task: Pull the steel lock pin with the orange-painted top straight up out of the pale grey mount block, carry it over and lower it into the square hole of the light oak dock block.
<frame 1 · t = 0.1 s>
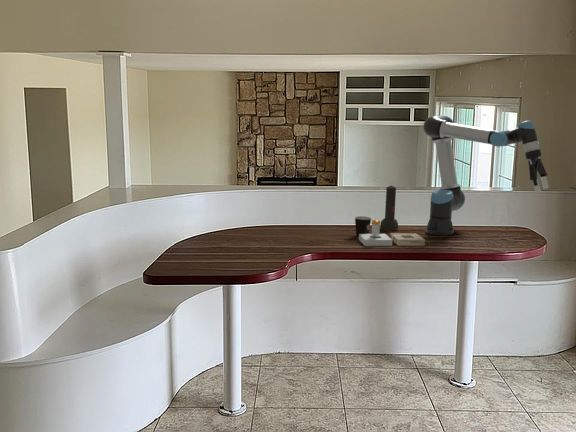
hand: (542, 190, 329), 28 cm above the table, tool tilted 20°, fingers open, 13 cm apart
dock block: (407, 242, 330), on the table
mount block: (375, 242, 328), on the table
coffee mug: (364, 236, 342), on the table
lock pin: (375, 231, 327), in the mount block
flashlight: (389, 229, 360), on the table
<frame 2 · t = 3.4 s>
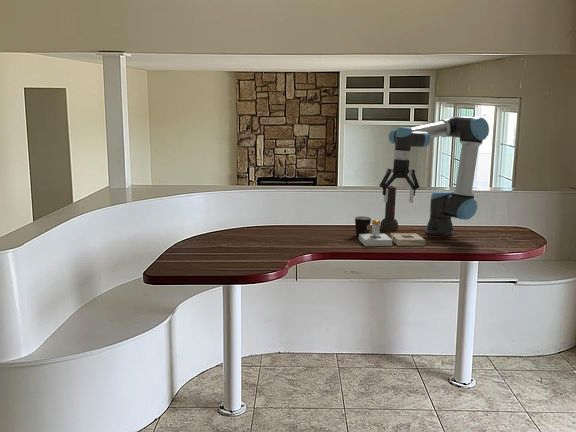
hand: (398, 202, 313), 23 cm above the table, tool pointing down, fingers open, 13 cm apart
nothing on the table moved.
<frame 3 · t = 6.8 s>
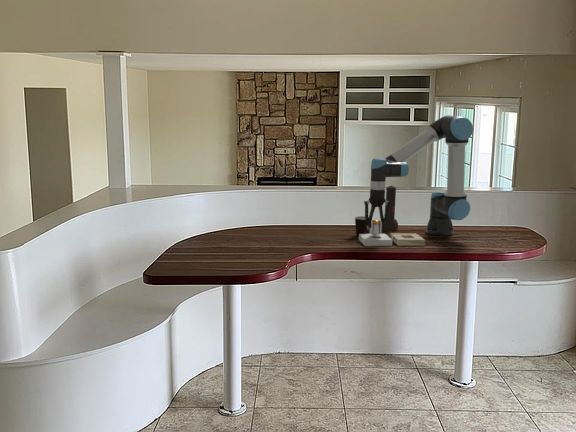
hand: (375, 233, 327), 5 cm above the table, tool pointing down, fingers closed on lock pin, 4 cm apart
lock pin: (375, 231, 327), in the mount block, touching gripper
everything else where it was.
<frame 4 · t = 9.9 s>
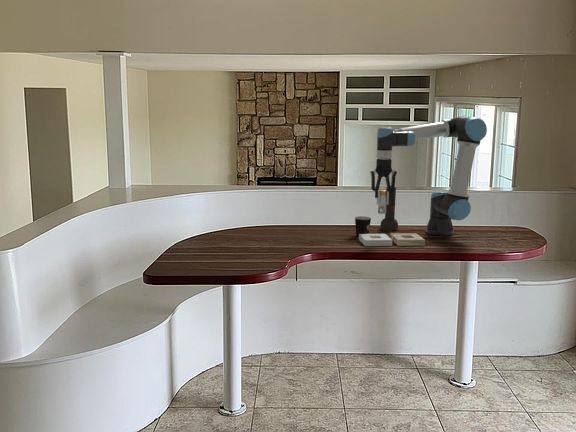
hand: (382, 204, 324), 20 cm above the table, tool pointing down, fingers closed on lock pin, 4 cm apart
lock pin: (382, 201, 324), point 21 cm above the table, touching gripper
everything else where it was.
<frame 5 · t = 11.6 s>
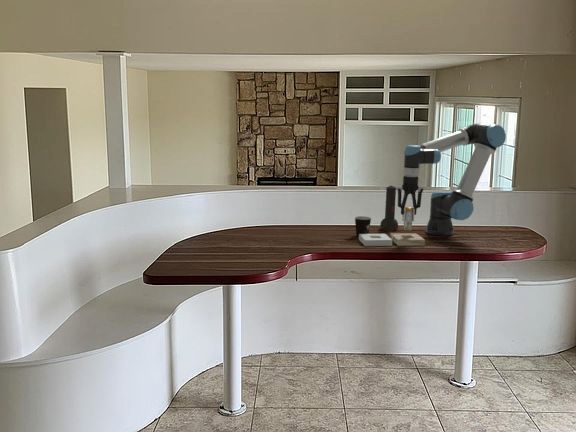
hand: (408, 220, 328), 11 cm above the table, tool pointing down, fingers closed on lock pin, 4 cm apart
lock pin: (408, 218, 328), point 12 cm above the table, touching gripper
everything else where it was.
when the fingers open (5 cm above the table, at t = 13.2 s): lock pin stays where it is, resting in dock block.
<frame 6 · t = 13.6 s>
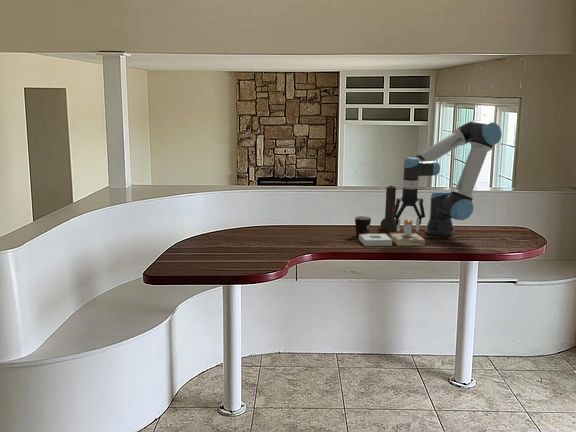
hand: (407, 230, 329), 6 cm above the table, tool pointing down, fingers open, 9 cm apart
lock pin: (407, 231, 329), in the dock block
everything else where it was.
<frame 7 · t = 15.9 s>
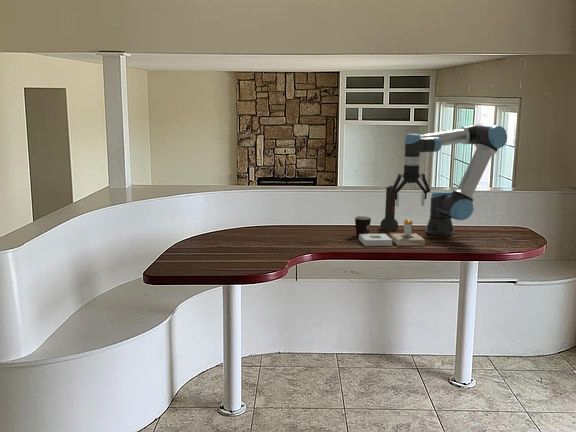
hand: (409, 205, 326), 19 cm above the table, tool pointing down, fingers open, 13 cm apart
nothing on the table moved.
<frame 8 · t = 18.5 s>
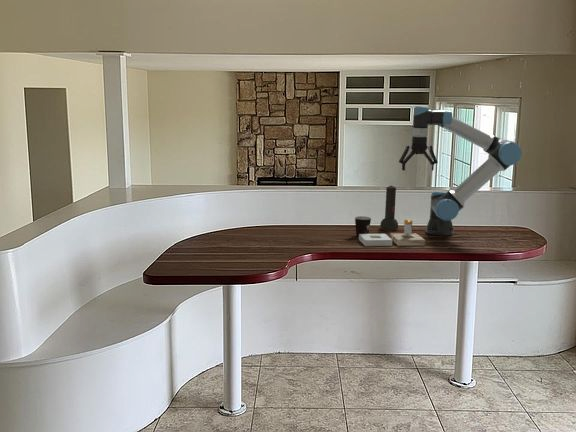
hand: (417, 176, 335), 33 cm above the table, tool pointing down, fingers open, 13 cm apart
nothing on the table moved.
at the end: lock pin 0.0 cm off-centre on the dock block, point 5.7 cm above the dock block's base; lock pin tilted 0°; the gripper is holding nothing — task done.
